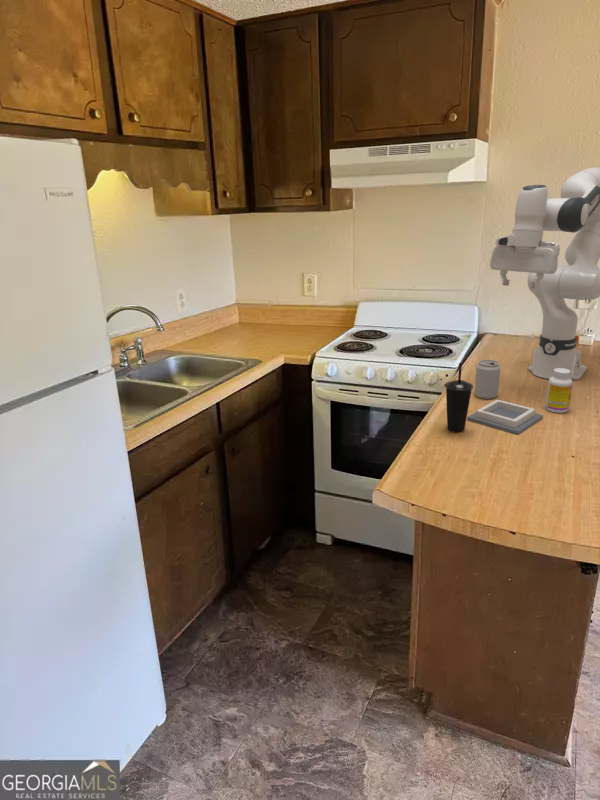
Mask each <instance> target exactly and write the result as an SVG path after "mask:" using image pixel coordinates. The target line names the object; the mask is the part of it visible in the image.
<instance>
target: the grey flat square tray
mask: <svg viewBox="0 0 600 800" xmlns="http://www.w3.org/2000/svg"><path fill="white" fill-rule="evenodd" d="M543 418H544V415H543V414H540V413H536V408H532V407H528V406H525V405H520V404H515V403H512V402H508V401H504V400H500V399H496V400H493V401H492V402H489V403H488V404H487V405H484V406H483V407H481V408H479V409H477V410H476V412H474V413H472V414H470V415H468V416H467V418H466V421H470V422H472V423H476V424H479V425H483V426H486V427H489V428H493V429H496V430H500V431H504V432H507V433H510V434H514V435H517V436H518V435H520V434H521V433H523V432H524V431H526V430H527V429H529V428H531V427H532V426H533V425H535V424H536V423H538V422H540V421H541V420H542V419H543Z"/></svg>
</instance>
